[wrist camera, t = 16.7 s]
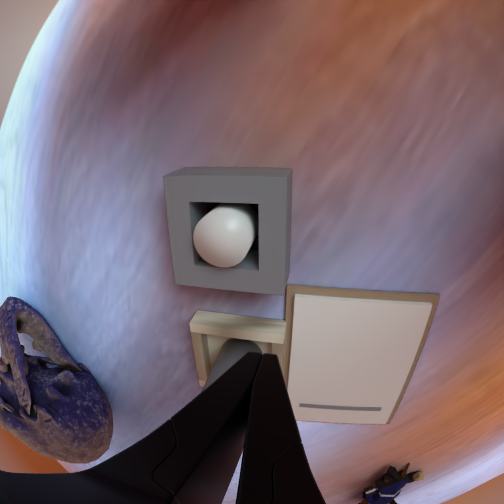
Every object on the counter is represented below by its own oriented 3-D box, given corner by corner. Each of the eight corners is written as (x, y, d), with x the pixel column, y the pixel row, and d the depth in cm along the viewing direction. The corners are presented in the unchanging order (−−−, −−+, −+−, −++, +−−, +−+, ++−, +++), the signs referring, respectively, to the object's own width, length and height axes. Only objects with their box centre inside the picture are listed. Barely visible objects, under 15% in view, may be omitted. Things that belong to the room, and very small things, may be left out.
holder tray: (286, 320, 23) (283, 335, 21) (282, 383, 26) (279, 398, 24) (197, 310, 24) (189, 323, 23) (206, 372, 27) (199, 385, 26)
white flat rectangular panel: (439, 293, 20) (441, 298, 19) (389, 422, 26) (389, 427, 25) (287, 283, 22) (286, 289, 21) (279, 416, 28) (278, 421, 27)
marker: (264, 341, 23) (243, 412, 17) (261, 371, 25) (241, 439, 19) (221, 333, 24) (190, 399, 18) (221, 363, 25) (193, 427, 19)
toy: (437, 468, 26) (396, 528, 29) (413, 441, 32) (380, 502, 35) (376, 490, 25) (341, 545, 27) (356, 456, 31) (328, 516, 33)
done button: (259, 200, 19) (248, 214, 16) (259, 248, 20) (249, 269, 18) (209, 198, 20) (191, 212, 17) (212, 245, 21) (195, 265, 18)
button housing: (292, 168, 19) (287, 177, 16) (289, 272, 21) (283, 295, 19) (184, 167, 20) (163, 176, 17) (192, 264, 23) (175, 284, 20)
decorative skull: (-51, 314, 20) (-9, 437, 25) (72, 388, 20) (97, 498, 25) (16, 277, 32) (33, 391, 37) (130, 320, 32) (129, 435, 37)
